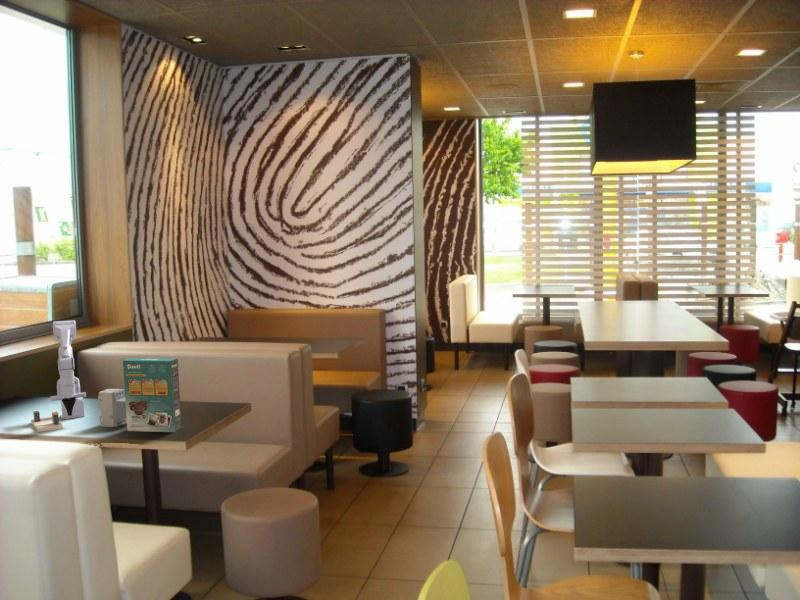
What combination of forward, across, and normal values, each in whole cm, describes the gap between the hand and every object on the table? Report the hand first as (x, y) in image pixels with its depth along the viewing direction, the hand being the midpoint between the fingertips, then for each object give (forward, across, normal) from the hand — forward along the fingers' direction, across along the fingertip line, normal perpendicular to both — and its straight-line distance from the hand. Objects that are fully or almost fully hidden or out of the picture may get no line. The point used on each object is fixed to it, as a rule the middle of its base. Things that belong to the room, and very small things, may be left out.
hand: (69, 415), depth 373 cm
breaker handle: (+2, -6, 0) cm, 6 cm away
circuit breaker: (+5, +18, -13) cm, 23 cm away
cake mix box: (+5, +28, -32) cm, 43 cm away
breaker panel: (+4, -9, +5) cm, 11 cm away
